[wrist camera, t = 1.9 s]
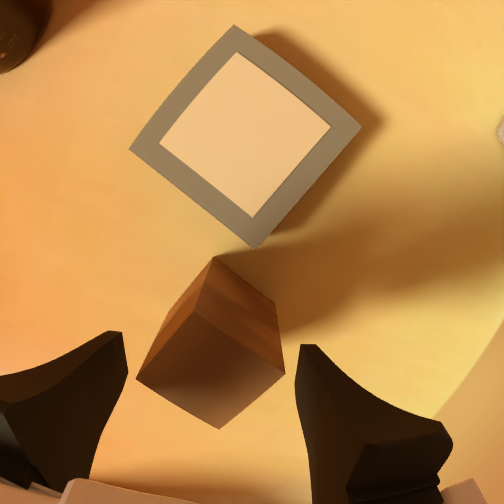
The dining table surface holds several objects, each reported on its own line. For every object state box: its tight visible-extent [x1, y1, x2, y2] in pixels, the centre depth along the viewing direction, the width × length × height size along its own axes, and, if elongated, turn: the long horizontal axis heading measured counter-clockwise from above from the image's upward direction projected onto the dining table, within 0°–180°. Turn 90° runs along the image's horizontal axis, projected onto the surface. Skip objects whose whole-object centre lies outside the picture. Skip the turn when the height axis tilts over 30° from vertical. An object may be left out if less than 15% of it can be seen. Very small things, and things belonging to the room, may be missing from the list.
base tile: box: [129, 25, 362, 250], centre depth 13 cm, size 7×7×2 cm
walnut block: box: [136, 257, 286, 429], centre depth 14 cm, size 4×4×6 cm
